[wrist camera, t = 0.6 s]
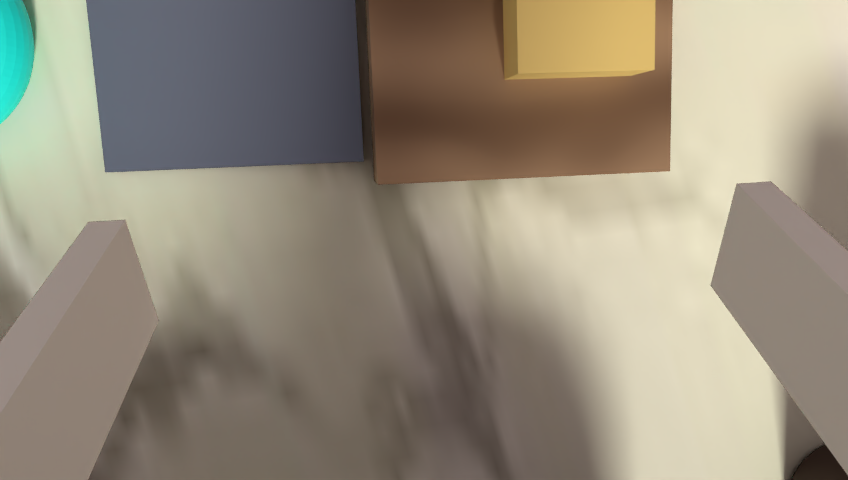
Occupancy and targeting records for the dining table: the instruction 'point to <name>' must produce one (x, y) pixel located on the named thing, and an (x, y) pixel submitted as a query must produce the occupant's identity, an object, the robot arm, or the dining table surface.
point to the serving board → (501, 102)
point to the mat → (226, 82)
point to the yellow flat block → (578, 38)
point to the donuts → (14, 54)
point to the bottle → (820, 467)
